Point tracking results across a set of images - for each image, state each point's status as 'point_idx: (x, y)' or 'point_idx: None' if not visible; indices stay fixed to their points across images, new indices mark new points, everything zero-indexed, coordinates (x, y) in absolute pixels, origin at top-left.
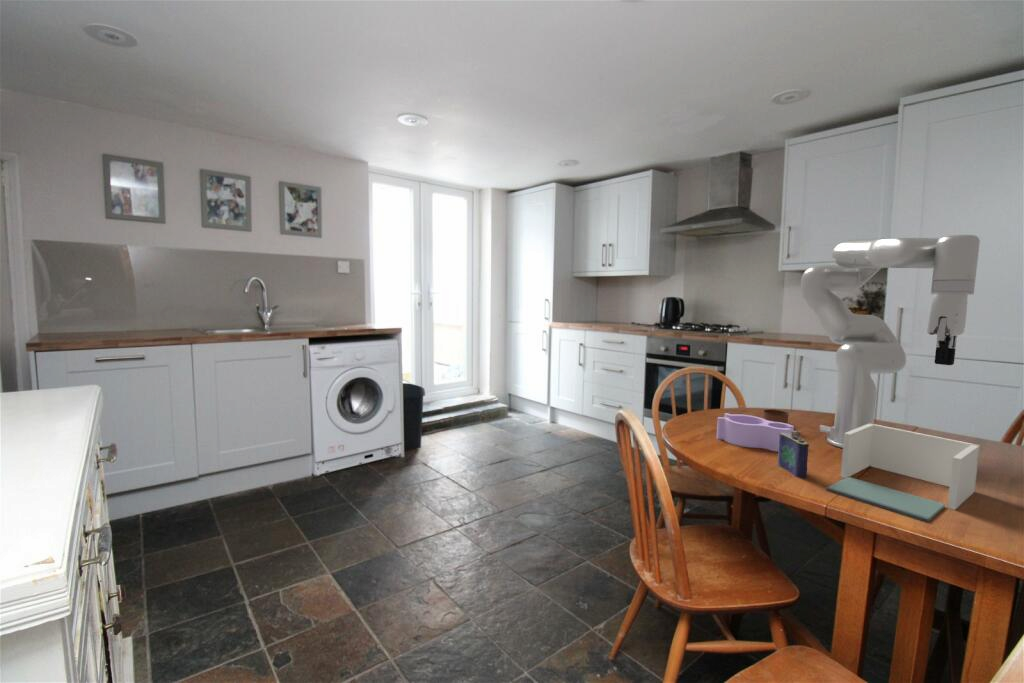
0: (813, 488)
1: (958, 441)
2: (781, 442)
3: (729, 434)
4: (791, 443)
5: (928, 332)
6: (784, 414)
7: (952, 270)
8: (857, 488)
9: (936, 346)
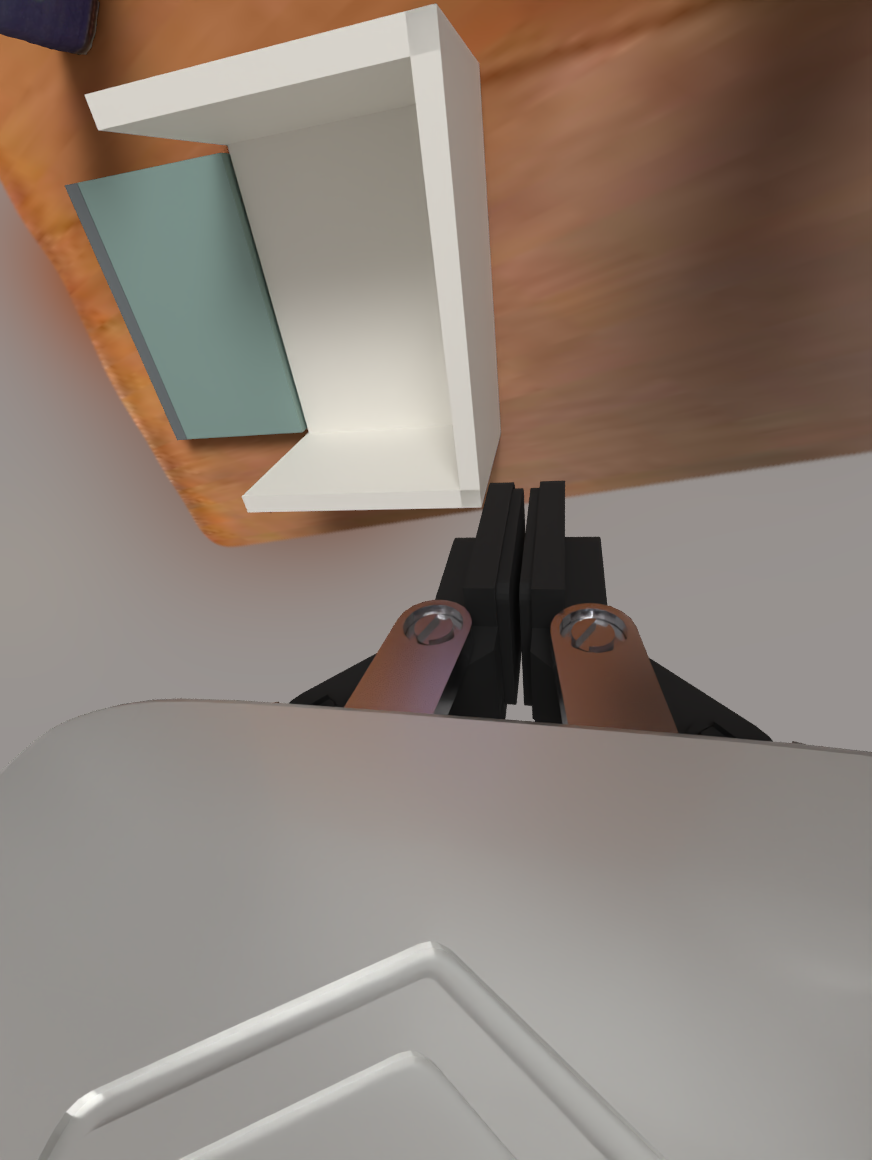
0: (74, 121)
1: (466, 453)
2: None
3: None
4: None
5: (48, 735)
6: None
7: None
8: (163, 246)
9: (406, 612)
